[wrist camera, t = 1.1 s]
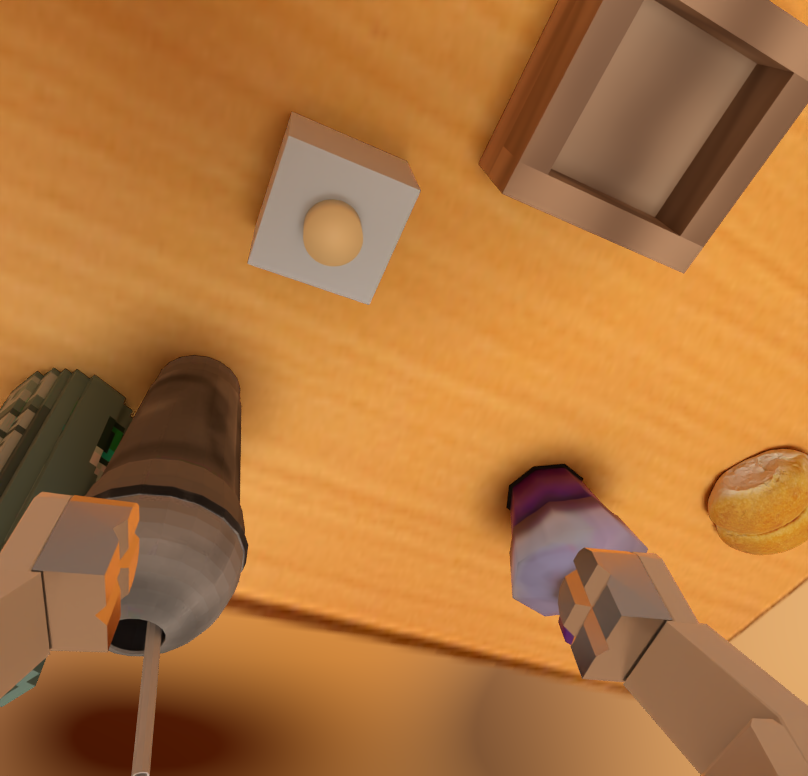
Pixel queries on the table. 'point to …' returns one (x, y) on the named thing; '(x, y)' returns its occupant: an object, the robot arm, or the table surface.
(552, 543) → the potion bottle
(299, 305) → the table surface
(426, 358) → the table surface
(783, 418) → the table surface
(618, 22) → the box
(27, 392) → the can
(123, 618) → the beverage cup
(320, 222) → the lid
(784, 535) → the bread roll
